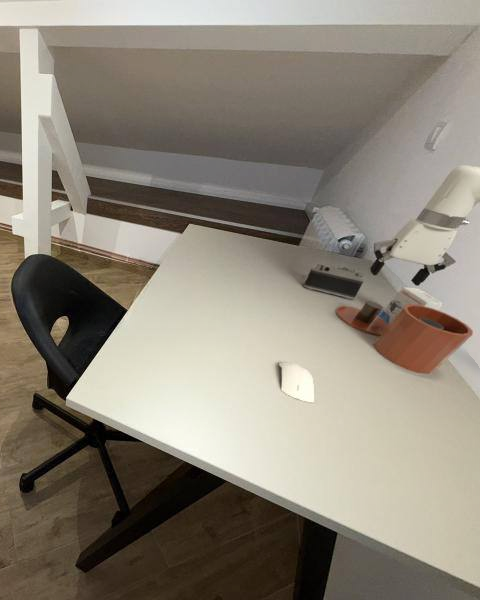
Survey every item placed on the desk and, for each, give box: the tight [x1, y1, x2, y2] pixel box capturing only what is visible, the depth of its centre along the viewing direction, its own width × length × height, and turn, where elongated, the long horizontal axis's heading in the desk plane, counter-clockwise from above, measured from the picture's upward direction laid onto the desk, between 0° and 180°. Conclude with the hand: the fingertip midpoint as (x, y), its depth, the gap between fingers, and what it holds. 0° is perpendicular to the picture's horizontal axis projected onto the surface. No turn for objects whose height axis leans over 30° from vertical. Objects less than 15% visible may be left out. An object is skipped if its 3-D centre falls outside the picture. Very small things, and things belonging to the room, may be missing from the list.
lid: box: [335, 300, 389, 336], centre depth 94 cm, size 14×14×7 cm
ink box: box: [378, 286, 444, 325], centre depth 93 cm, size 9×5×12 cm, turn 179°
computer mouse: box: [278, 361, 315, 403], centre depth 72 cm, size 7×12×2 cm, turn 156°
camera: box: [303, 263, 366, 300], centre depth 110 cm, size 16×9×10 cm, turn 68°
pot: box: [373, 304, 474, 375], centre depth 80 cm, size 13×13×13 cm
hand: (393, 278), depth 87 cm, fingers open, 9 cm apart
